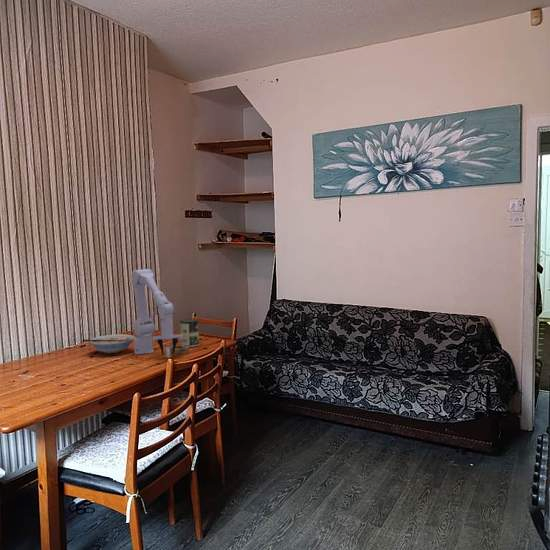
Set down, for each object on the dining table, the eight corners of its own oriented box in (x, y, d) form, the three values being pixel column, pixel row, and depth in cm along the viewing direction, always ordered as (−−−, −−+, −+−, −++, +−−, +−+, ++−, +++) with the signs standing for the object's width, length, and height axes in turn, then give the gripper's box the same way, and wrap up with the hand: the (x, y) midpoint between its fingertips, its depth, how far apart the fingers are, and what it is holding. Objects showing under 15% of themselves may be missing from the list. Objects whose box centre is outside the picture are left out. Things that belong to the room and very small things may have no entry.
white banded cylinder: (165, 358, 246) (165, 344, 246) (165, 357, 249) (165, 343, 248) (170, 357, 247) (170, 344, 246) (170, 356, 249) (170, 343, 249)
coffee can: (200, 343, 279) (199, 318, 278) (198, 346, 269) (197, 321, 268) (181, 343, 278) (180, 319, 277) (179, 347, 268) (178, 322, 267)
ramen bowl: (143, 347, 272) (142, 332, 271) (126, 357, 249) (125, 341, 249) (100, 347, 274) (99, 332, 274) (79, 357, 252) (78, 341, 251)
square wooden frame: (174, 355, 252) (174, 349, 251) (169, 352, 259) (169, 346, 258) (189, 353, 256) (188, 347, 255) (183, 350, 263) (183, 344, 262)
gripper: (152, 329, 241) (153, 356, 242) (182, 327, 245) (183, 354, 246) (152, 327, 248) (153, 353, 249) (181, 325, 251) (182, 351, 253)
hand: (168, 353), depth 248 cm, fingers open, 5 cm apart
